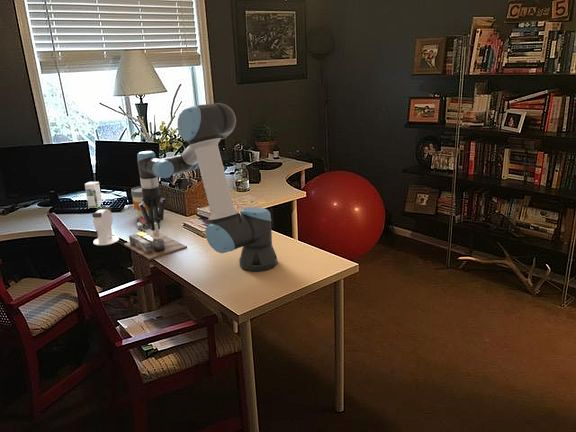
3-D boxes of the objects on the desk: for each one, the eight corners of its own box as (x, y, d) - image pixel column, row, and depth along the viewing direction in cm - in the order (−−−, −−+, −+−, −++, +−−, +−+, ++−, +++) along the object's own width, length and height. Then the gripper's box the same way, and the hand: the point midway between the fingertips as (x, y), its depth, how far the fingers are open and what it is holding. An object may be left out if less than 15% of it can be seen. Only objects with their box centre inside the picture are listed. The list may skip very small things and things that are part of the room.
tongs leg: (166, 249, 210) (165, 240, 208) (157, 252, 207) (156, 243, 205) (144, 238, 224) (143, 229, 222) (135, 240, 221) (134, 232, 220)
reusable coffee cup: (148, 211, 266) (145, 184, 261) (163, 214, 259) (160, 187, 254) (129, 217, 256) (125, 190, 252) (144, 221, 249) (141, 193, 244)
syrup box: (88, 208, 274) (84, 183, 269) (93, 205, 279) (89, 181, 274) (97, 209, 273) (93, 184, 268) (103, 205, 278) (99, 181, 274)
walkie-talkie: (133, 223, 248) (142, 234, 232) (131, 215, 247) (141, 226, 230) (150, 220, 252) (161, 231, 236) (149, 212, 251) (160, 222, 234)
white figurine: (100, 235, 231) (95, 205, 227) (123, 235, 230) (119, 205, 226) (88, 245, 220) (83, 214, 215) (112, 245, 219) (107, 213, 214)
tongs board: (187, 248, 213) (186, 238, 212) (149, 260, 202) (148, 250, 200) (160, 234, 230) (159, 226, 229) (124, 245, 219) (122, 236, 217)
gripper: (159, 182, 221) (164, 230, 229) (132, 188, 213) (139, 238, 220) (167, 184, 216) (173, 234, 223) (140, 191, 208) (147, 242, 215)
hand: (156, 236), depth 222 cm, fingers closed
